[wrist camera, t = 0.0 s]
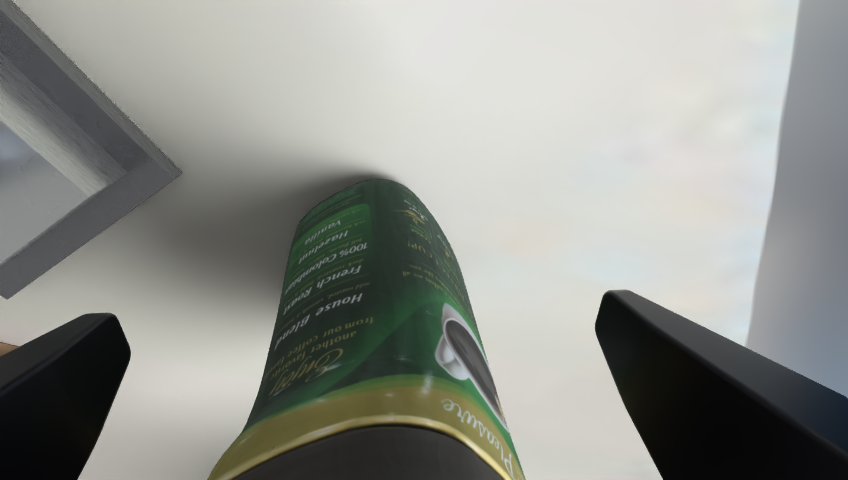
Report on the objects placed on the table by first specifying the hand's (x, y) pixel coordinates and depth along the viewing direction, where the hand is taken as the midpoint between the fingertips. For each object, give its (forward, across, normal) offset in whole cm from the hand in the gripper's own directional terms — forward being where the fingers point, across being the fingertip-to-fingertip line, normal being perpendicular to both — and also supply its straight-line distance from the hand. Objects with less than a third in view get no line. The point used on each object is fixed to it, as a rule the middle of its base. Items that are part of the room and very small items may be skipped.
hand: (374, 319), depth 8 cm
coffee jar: (+15, 0, +7) cm, 17 cm away
